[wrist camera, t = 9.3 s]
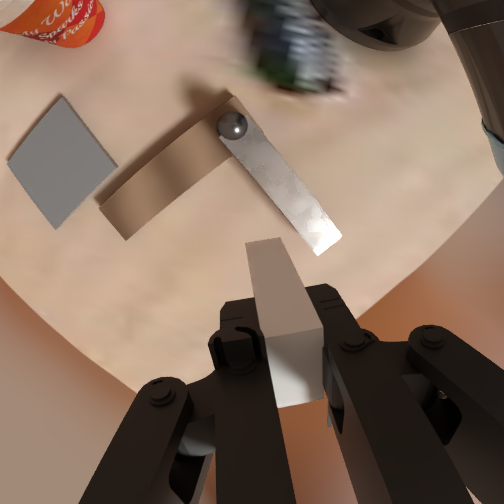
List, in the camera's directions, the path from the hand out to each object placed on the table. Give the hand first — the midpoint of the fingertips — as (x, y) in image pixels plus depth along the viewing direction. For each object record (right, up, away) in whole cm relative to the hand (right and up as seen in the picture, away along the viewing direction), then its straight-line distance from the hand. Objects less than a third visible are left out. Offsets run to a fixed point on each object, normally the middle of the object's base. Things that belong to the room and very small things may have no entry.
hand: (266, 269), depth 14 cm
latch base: (-8, +9, +15) cm, 19 cm away
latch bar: (+2, +8, +15) cm, 17 cm away
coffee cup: (-18, +24, +9) cm, 32 cm away
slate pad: (-21, +10, +14) cm, 27 cm away
